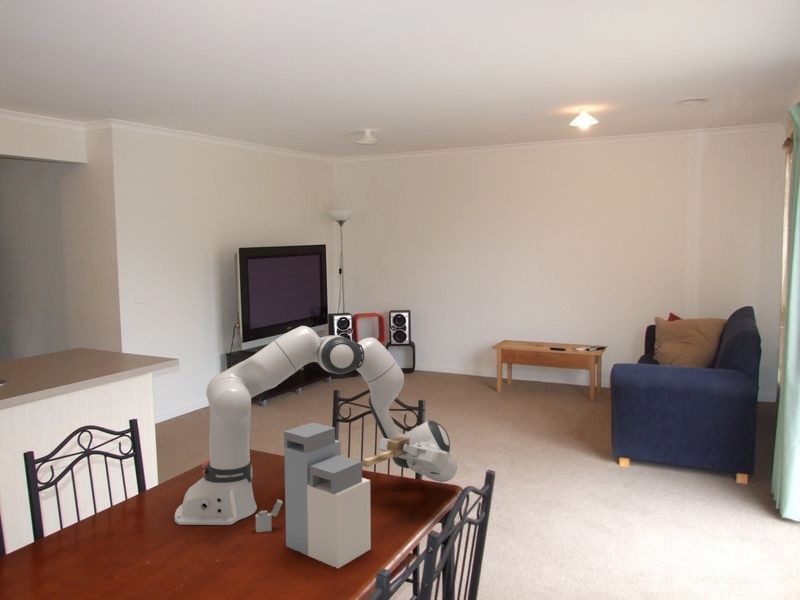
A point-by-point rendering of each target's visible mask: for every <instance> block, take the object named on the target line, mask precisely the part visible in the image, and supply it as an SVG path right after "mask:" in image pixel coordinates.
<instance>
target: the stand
mask: <svg viewBox="0 0 800 600" xmlns="http://www.w3.org/2000/svg"><path fill="white" fill-rule="evenodd" d="M341 442H342V441H341V440H338V439H336V427H333V426H330V425H329V426H328V425H324V424H321V423H317V422H309V423H307V424H302V425H300V426H297V427H294V428H291V429H290V428H289V429H288V430H285V431H284V430H283V443H284V444H283V445H284V446H283V448H284V451H283V452H284V453H283V454H284V493H285V494H284V496H285V497H284V499H285V500H284V501H285V503H284V504H285V506H284V507H285V544H286V545H285V546H286V548H289V549H291V550H294V551H295V552H298V551H299V552H298V553H300V552H301V554H303V555H306V556H307V557H310V558H312V559H314V558H315V559H314V560H317V561H319V562H321V561H322V562H321V563H323V564H327V565H328V566H331V567H333V568H335V567H336V569H340V568H342V567H343V566H345V565H346V564H348V563H350V562H352V561H353V560H355V559H357V558H358V557H360V556H362V555H363V554H366V552H368V551H370V550H371V549H372V548H371V547H372V546H371V544H372V543H371V541H372V539H371V537H372V536H371V535H372V534H371V533H372V532H371V522H372V521H371V520H372V519H371V518H372V517H371V479H367V478H365V477H363V461H361V460H357V459H354V458H350V457H348V456H347V457H346V456H343V455H342V452H341V451H342V449H341V448H342V447H341V446H342V445H341V444H342V443H341Z"/></svg>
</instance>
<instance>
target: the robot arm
mask: <svg viewBox="0 0 800 600" xmlns="http://www.w3.org/2000/svg"><path fill="white" fill-rule="evenodd" d="M309 363H316V364H317V365H318V366H320V367H321V369H323V370H324V371H326V372H328V373H331V374H335V375H343V374H347V373H349V372H352V371H357V372H358V373H359V374H360V376H361V377H362V379H363V380H364V382H366V384H367V386H368V389H369V392H370V396H368V403H369V404H368V405H369V407H370V410H371V413H372V415H373V418H374V420H375V421H376V424H377V427H378V428H379V431H380V432H381V434H382V436H383V437H382V438H381V439H380V440H379V444H378V450H379V451H381V452H382V453H383V452H385V451H387V447H388V441H389V440H392V439H394V438H397V437H400V436H402V437H406V438H410V441H409V445H406V444H402V445H401V450H402V451H404V452H407V453H406V454H404V455H401V456H399V457H393V458H391V459H392V460H393V463H395V465H397V466H399V467H401V468H404V469H410V470H411V471H413V472H415V473H417V474H419V475H421V476H423V477H424V476H425V477H426V478H427V479H430V480H432V481H435V482H439V483H446V482H449V481H451V480H452V479H453V478H454V477H455V476H456V474H457V472H458V464H457V462H456V459H455V458H454V457H453V456H452V454H451V452H450V451H451V449H450V448H451V441H450V437H449V434H448V433H447V431H446V429H445V427H444V426H442V425H441V424H440V423H439V422H436V421H434V420H428V421H425V422H423V423H422V424H420V425H418V426H416V427H414V428H412V429H410V430H409V431H408V432H405V433H400V432H399V430H398V429H397V426H396V424H395V422H394V420H393V418H392V416H391V414H390V406H391V405H392V403H393V402H394V401H395V400H396V398H397V397H398V396H399V394H400V392H401V391H402V390H403V387H404V383H405V374H404V372H403V370H402V368H401V366H400V365H399V363H398V362H397V360H396V358H394V357H393V355H392V354H391V353H390V351H389V350H388V349H387V348H386V346H384V344H382V343H381V342H380V341H379V340H378V339H376V338H375V337H365V338H363V339H361V340H359V341H358V342H356V341H353V340H351V339H349V338H348V337H344V336H341V335H335V334H334V335H331V334H330V335H329V334H328V335H323V336H322V335H321V336H320V335H318V333H317V332H315V330H314V329H313V328H311V327H309V326H306V325H300V326H298V327H296V328H294V329H291V330H290V331H288V332H286V333H284V334H282V335H280V336H279V337H277V338H276V339H275V340H273V341H272V342H270V343H268V344H267V345H266V346H264V347H263V348H261V349H260V350H259V351H257V352H256V353H254V354H253V355H252V356H250V357H248V358H247V359H245V360H243V361H241V362H238V363H237V364H235V365H233V366H231V367H230V368H227V369H226V370H224V371H223V372H221V373H218V374H216V375H215V376H214V377H213V378H211V380H210V381H209V383H208V385H207V387H206V393H205V394H206V397H207V401H208V406H209V434H208V435H209V437H208V439H209V440H208V441H209V447H208V448H209V461H208V460H205V461H204V462H203V464H202V477H201V478H200V479H199V480H197V482H195V483H194V484H193V485H192V486H190V487H189V488H188V489H187V490H186V492H185V494H184V498H183V501H182V503H181V504H180V505H179V506H178V507H177V508H176V510H175V513H174V522H175V523H176V524H177V525H183V526H185V525H188V526H189V525H191V526H194V525H195V526H196V525H197V526H198V525H200V526H201V525H208V526H212V525H213V526H225V525H226V526H230V525H233V524H235V523H237V522H238V521H240V520H242V519H246V518H247V517H249V516H251V515H253V514H255V513H256V511H257V509H258V506H257V503H256V500H255V497H254V492H253V491H254V490H253V485H252V480H253V465H252V460H251V456H250V455H251V454H250V453H251V451H250V450H251V449H250V430H251V419H252V418H251V417H252V416H251V415H252V398H254V397H256V396H257V395H258V396H259V394H262V393H264V392H265V391H269V390H271V389H273V388H276V387H278V385H279V384H281V383H283V382H284V381H285V380H287V379H288V378H289V377H290V376H292V375H294V374H295V373H296V372H298V371H300V369H302V368H303V367H304V366H305V365H308V364H309Z"/></svg>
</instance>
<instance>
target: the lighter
mask: <svg viewBox="0 0 800 600" xmlns="http://www.w3.org/2000/svg"><path fill="white" fill-rule="evenodd" d="M282 505H283V500H282V499H278V498H277V499H276V502H275V503H274V506H273V508H272V510H271V512H268V510H260V511H259V512H258V513H256V514H255V533H256V534H257V532H258V533H265V532H272V530H273V528H272V527H273V525H272V522H273V521H272V519H273V518H272V517H277V516H278V514H279V511H280V510H281V507H282Z"/></svg>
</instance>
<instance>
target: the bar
mask: <svg viewBox="0 0 800 600" xmlns="http://www.w3.org/2000/svg"><path fill="white" fill-rule="evenodd" d="M409 441H410V438H406V437H402V436H400V437H397V438H394V439H392V440H389V441H388V447H387V451H385V452H383V451H382V452H381V453H378V454H375V455H372V456H369V457H366V458H364V459H362V467H366V468H370V467H372V466H374V465H376V464H379V463H382V462H385V461H388V460H389V459H392V458H393V457H399V456H401V455H404V454H406V453H407V452H404V451H402V450H401V445H402V444H406V445H409Z"/></svg>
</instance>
